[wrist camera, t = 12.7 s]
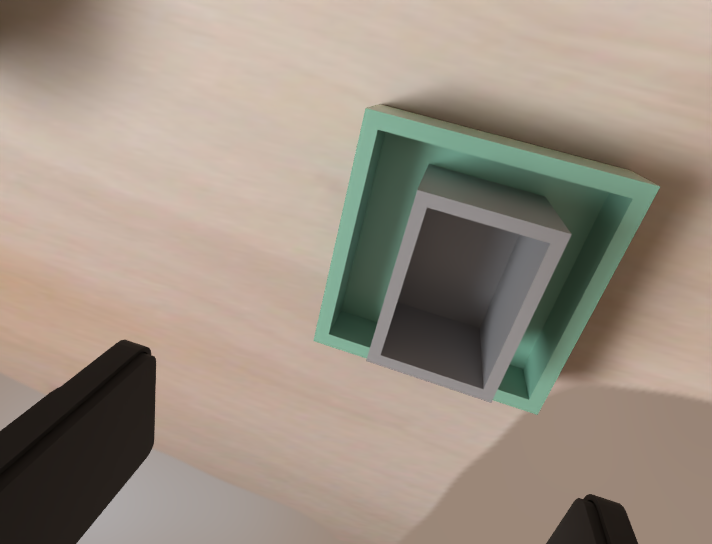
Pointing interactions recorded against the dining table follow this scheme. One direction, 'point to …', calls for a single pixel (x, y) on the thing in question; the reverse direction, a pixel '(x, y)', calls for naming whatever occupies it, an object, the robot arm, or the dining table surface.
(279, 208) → the dining table surface
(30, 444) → the robot arm
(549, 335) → the big crate
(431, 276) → the small crate
